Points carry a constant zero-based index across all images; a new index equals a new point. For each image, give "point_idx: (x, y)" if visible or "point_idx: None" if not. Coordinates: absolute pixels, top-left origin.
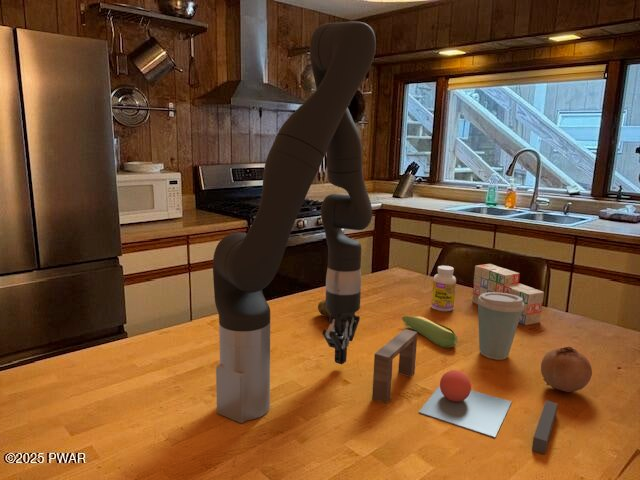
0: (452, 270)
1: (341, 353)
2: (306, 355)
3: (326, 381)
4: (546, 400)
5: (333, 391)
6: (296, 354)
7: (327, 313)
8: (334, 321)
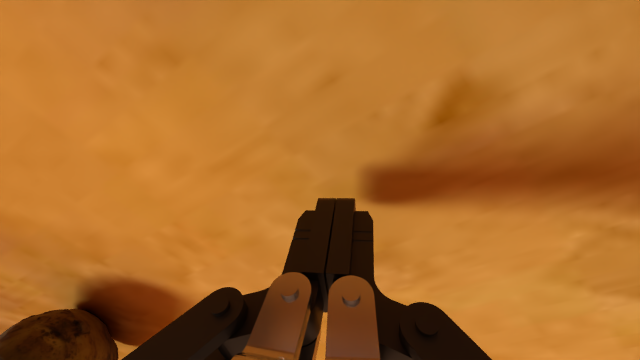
0: None
1: (358, 255)
2: None
3: (499, 183)
4: None
5: (617, 102)
6: None
7: (107, 358)
8: None
